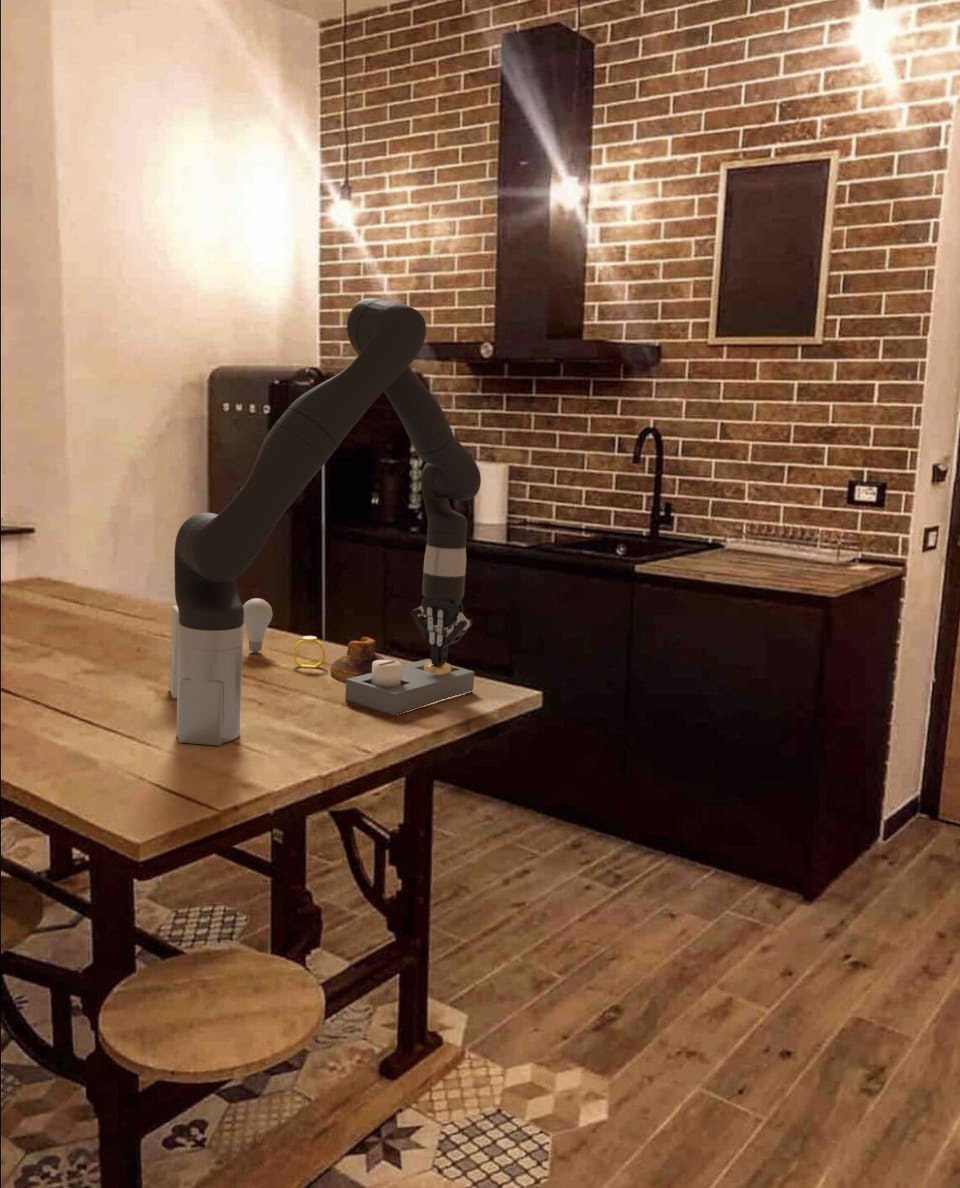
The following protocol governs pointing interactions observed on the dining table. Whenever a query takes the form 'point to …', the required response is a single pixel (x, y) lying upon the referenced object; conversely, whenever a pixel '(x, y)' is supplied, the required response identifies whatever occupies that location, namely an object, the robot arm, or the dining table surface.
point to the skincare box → (174, 652)
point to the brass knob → (437, 668)
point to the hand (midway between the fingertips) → (438, 664)
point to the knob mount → (408, 689)
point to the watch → (309, 640)
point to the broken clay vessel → (356, 660)
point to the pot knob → (386, 673)
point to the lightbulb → (256, 622)
